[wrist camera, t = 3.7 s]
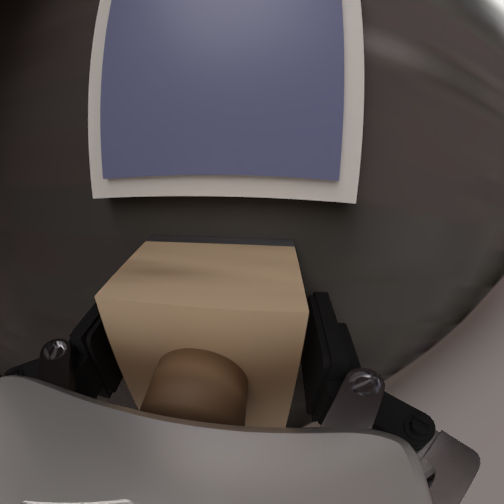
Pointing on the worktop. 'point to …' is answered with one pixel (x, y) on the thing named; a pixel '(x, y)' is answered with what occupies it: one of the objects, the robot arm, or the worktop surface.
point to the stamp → (209, 327)
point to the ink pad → (227, 99)
